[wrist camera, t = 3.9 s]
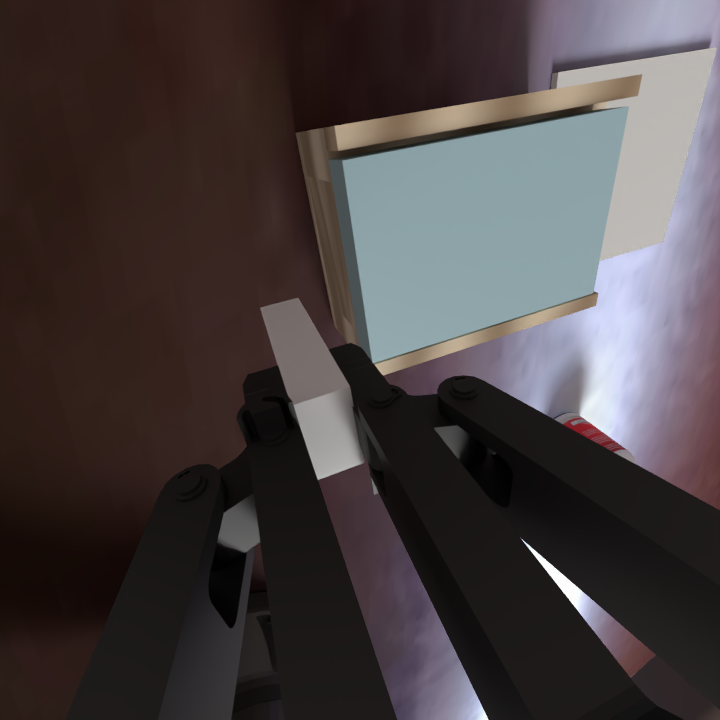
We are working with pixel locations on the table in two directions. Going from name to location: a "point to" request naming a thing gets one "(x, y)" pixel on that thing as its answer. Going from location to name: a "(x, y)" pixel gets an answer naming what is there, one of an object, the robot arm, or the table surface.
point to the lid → (474, 226)
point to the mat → (649, 141)
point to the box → (422, 128)
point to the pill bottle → (593, 434)
